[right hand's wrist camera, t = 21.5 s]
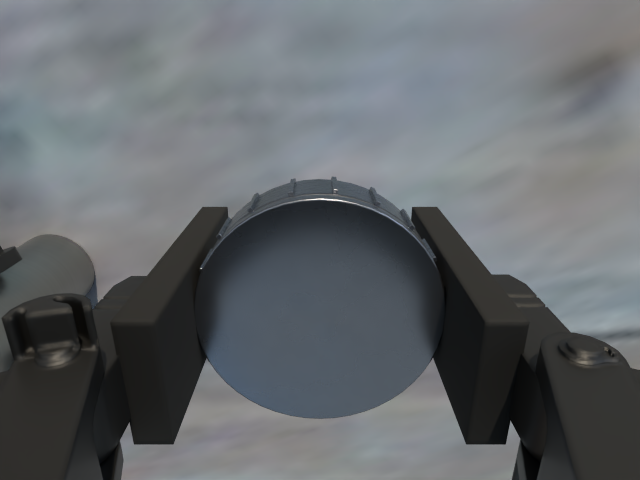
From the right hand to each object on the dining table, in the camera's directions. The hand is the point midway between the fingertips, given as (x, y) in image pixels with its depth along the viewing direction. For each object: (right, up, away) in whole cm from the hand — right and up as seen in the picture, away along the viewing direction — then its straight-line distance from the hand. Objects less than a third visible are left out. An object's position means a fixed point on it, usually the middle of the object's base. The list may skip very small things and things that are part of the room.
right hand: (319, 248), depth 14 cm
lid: (0, -1, -4) cm, 4 cm away
